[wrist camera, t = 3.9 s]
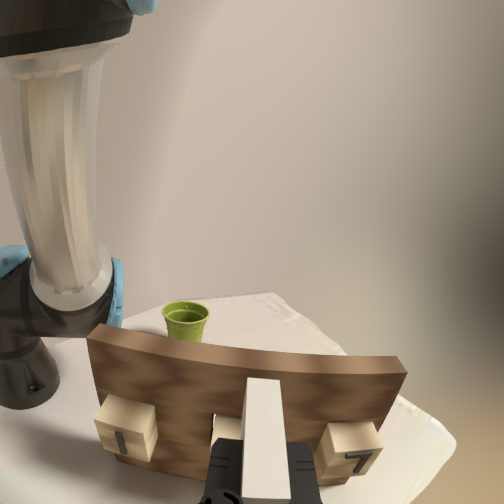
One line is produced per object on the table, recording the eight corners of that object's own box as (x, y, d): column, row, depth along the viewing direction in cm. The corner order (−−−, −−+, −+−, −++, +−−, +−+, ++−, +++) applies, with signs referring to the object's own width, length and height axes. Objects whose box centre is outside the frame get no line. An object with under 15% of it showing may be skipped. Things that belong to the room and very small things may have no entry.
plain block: (209, 474, 22) (210, 446, 21) (218, 415, 31) (220, 384, 30) (260, 479, 22) (269, 452, 21) (260, 419, 31) (266, 389, 30)
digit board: (107, 484, 24) (62, 362, 19) (133, 424, 35) (117, 305, 30) (351, 508, 24) (426, 400, 19) (335, 445, 36) (381, 335, 31)
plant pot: (213, 357, 56) (216, 320, 54) (168, 363, 52) (167, 324, 50) (199, 334, 64) (201, 299, 62) (158, 338, 60) (158, 302, 58)
